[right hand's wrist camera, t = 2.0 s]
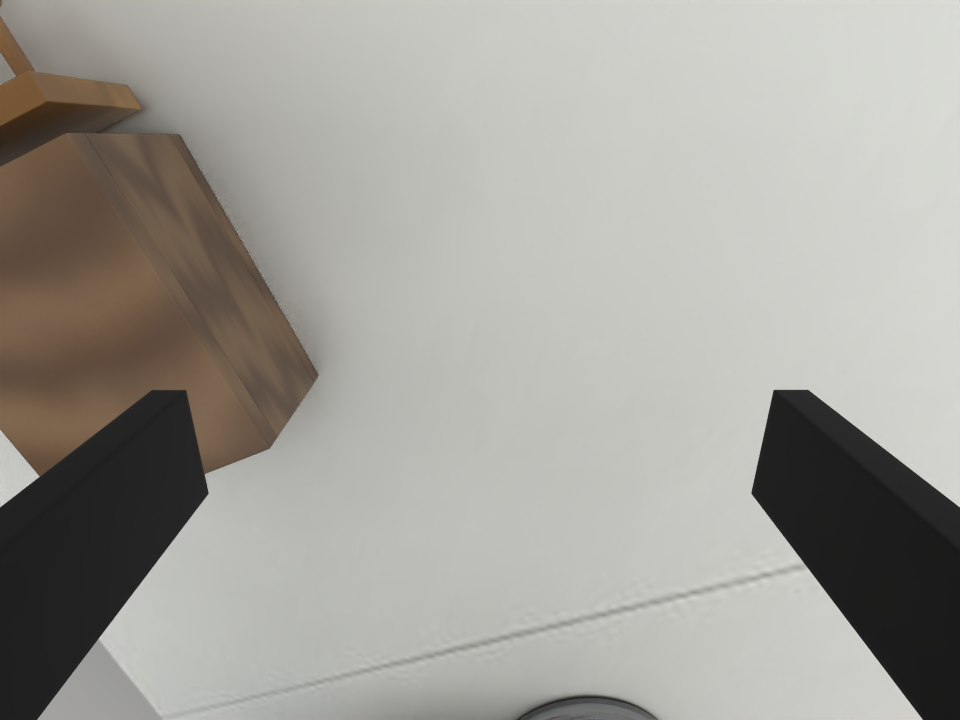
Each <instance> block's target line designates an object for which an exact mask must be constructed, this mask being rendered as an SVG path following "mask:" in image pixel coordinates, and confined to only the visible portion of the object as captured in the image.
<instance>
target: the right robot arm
mask: <svg viewBox="0 0 960 720" xmlns="http://www.w3.org/2000/svg"><path fill="white" fill-rule="evenodd" d="M208 494H209V493H208V488H207V484H206V479H205V474H204V470H203V465H202V461H201V456H200V451H199V447H198V442H197V437H196V433H195V428H194V424H193V419H192V414H191V410H190V405H189V400H188V396H187V391H186V390H151V391H150V392H149V393H147V394H146V395H145V396H143V397H142V398H141V399H140V400H138V401H137V402H136V403H134V404H133V405H132V406H131V407H129V408H128V409H127V410H125V411H124V412H123V413H122V414H120V415H119V416H118V417H116V418H115V419H114V420H113V421H111V422H110V423H109V424H107V425H106V426H105V427H103V428H102V429H101V430H100V431H98V432H97V433H96V434H94V435H93V436H92V437H91V438H89V439H88V440H87V441H85V442H84V443H83V444H82V445H80V446H79V447H78V448H76V449H75V450H74V451H73V452H71V453H70V454H69V455H67V456H66V457H65V458H63V459H62V460H61V461H60V462H58V463H57V464H56V465H54V466H53V467H52V468H51V469H49V470H48V471H47V472H45V473H44V474H43V475H42V476H40V477H39V478H38V479H36V480H35V481H34V482H33V483H31V484H30V485H29V486H27V487H26V488H25V489H23V490H22V491H21V492H20V493H18V494H17V495H16V496H14V497H13V498H12V499H11V500H9V501H8V502H7V503H5V504H4V505H3V506H2V507H0V720H37V719H38V718H39V716H40V715H41V714H42V712H43V711H44V710H45V708H46V707H47V706H48V705H49V703H50V702H51V701H52V699H53V698H54V697H55V695H56V694H57V693H58V691H59V690H60V689H61V687H62V686H63V685H64V683H65V682H66V681H67V679H68V678H69V677H70V676H71V674H72V673H73V672H74V670H75V669H76V668H77V666H78V665H79V664H80V662H81V661H82V660H83V658H84V657H85V656H86V654H87V653H88V652H89V650H90V649H91V648H92V646H93V645H94V644H95V643H96V641H97V640H98V639H99V637H100V636H101V635H102V633H103V632H104V631H105V629H106V628H107V627H108V625H109V624H110V623H111V621H112V620H113V619H114V618H115V616H116V615H117V614H118V612H119V611H120V610H121V608H122V607H123V606H124V604H125V603H126V602H127V600H128V599H129V598H130V596H131V595H132V594H133V592H134V591H135V590H136V589H137V587H138V586H139V585H140V583H141V582H142V581H143V579H144V578H145V577H146V575H147V574H148V573H149V571H150V570H151V569H152V567H153V566H154V565H155V563H156V562H157V561H158V560H159V558H160V557H161V556H162V554H163V553H164V552H165V550H166V549H167V548H168V546H169V545H170V544H171V542H172V541H173V540H174V538H175V537H176V536H177V534H178V533H179V532H180V531H181V529H182V528H183V527H184V525H185V524H186V523H187V521H188V520H189V519H190V517H191V516H192V515H193V513H194V512H195V511H196V509H197V508H198V507H199V505H200V504H201V503H202V502H203V500H204V499H205V498H206V496H207V495H208ZM751 494H752V495H753V496H754V498H755V499H756V500H757V502H758V503H759V504H760V505H761V507H762V508H763V509H764V511H765V512H766V513H767V515H768V516H769V517H770V519H771V520H772V521H773V523H774V524H775V525H776V527H777V528H778V529H779V531H780V532H781V533H782V534H783V536H784V537H785V538H786V540H787V541H788V542H789V544H790V545H791V546H792V548H793V549H794V550H795V552H796V553H797V554H798V556H799V557H800V558H801V560H802V561H803V562H804V563H805V565H806V566H807V567H808V569H809V570H810V571H811V573H812V574H813V575H814V577H815V578H816V579H817V581H818V582H819V583H820V585H821V586H822V587H823V589H824V590H825V591H826V592H827V594H828V595H829V596H830V598H831V599H832V600H833V602H834V603H835V604H836V606H837V607H838V608H839V610H840V611H841V612H842V614H843V615H844V616H845V618H846V619H847V620H848V621H849V623H850V624H851V625H852V627H853V628H854V629H855V631H856V632H857V633H858V635H859V636H860V637H861V639H862V640H863V641H864V643H865V644H866V645H867V647H868V648H869V649H870V650H871V652H872V653H873V654H874V656H875V657H876V658H877V660H878V661H879V662H880V664H881V665H882V666H883V668H884V669H885V670H886V672H887V673H888V674H889V676H890V677H891V678H892V679H893V681H894V682H895V683H896V685H897V686H898V687H899V689H900V690H901V691H902V693H903V694H904V695H905V697H906V698H907V699H908V701H909V702H910V703H911V705H912V706H913V707H914V708H915V710H916V711H917V712H918V714H919V715H920V716H921V718H922V719H923V720H960V507H958V506H957V505H956V504H955V503H953V502H952V501H951V500H949V499H948V498H947V497H946V496H944V495H943V494H942V493H940V492H939V491H938V490H937V489H935V488H934V487H933V486H931V485H930V484H929V483H927V482H926V481H925V480H924V479H922V478H921V477H920V476H918V475H917V474H916V473H915V472H913V471H912V470H911V469H909V468H908V467H907V466H906V465H904V464H903V463H902V462H900V461H899V460H898V459H897V458H895V457H894V456H893V455H891V454H890V453H889V452H887V451H886V450H885V449H884V448H882V447H881V446H880V445H878V444H877V443H876V442H875V441H873V440H872V439H871V438H869V437H868V436H867V435H866V434H864V433H863V432H862V431H860V430H859V429H858V428H857V427H855V426H854V425H853V424H851V423H850V422H849V421H847V420H846V419H845V418H844V417H842V416H841V415H840V414H838V413H837V412H836V411H835V410H833V409H832V408H831V407H829V406H828V405H827V404H826V403H824V402H823V401H822V400H820V399H819V398H818V397H817V396H815V395H814V394H813V393H811V392H810V391H809V390H774V391H773V396H772V400H771V405H770V410H769V414H768V419H767V424H766V428H765V433H764V437H763V442H762V447H761V451H760V456H759V461H758V465H757V470H756V474H755V479H754V484H753V488H752V493H751ZM519 720H656V719H655V718H654V717H652V716H651V715H650V714H648V713H647V712H645V711H643V710H641V709H639V708H637V707H635V706H632V705H629V704H626V703H623V702H619V701H615V700H609V699H599V698H580V699H571V700H565V701H560V702H556V703H552V704H549V705H546V706H544V707H541V708H539V709H536V710H534V711H532V712H531V713H529V714H527V715H525V716H524V717H522V718H521V719H519Z"/></svg>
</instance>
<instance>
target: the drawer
mask: <svg viewBox="0 0 960 720" xmlns="http://www.w3.org/2000/svg"><path fill="white" fill-rule="evenodd" d="M1 6H2V0H0V7H1ZM0 52H1V54H2V55H3V57H4V58H5V60H6V61H7V63H8V64H9V66H10V67H11V69H12V70H13V72H14V73H15V75H16V76H17V77H15V78H13V79H11V80H10V81H8V82H6V83H4V84H2V85H0V167H1V166H3V165H5V164H7V163H9V162H11V161H13V160H15V159H16V158H18V157H20V156H22V155H24V154H26V153H28V152H30V151H32V150H34V149H36V148H38V147H40V146H42V145H44V144H46V143H48V142H49V141H51V140H53V139H55V138H57V137H59V136H61V135H63V134H65V133H96V132H98V131H100V130H102V129H104V128H106V127H108V126H110V125H112V124H114V123H116V122H118V121H120V120H122V119H124V118H126V117H128V116H130V115H131V114H133V113H135V112H137V111H139V110H141V107H140V105H139V103H138V102H137V100H136V98H135V97H134V95H133V93H132V92H131V90H130V88H129V87H128V86H127V85H120V84H114V83H107V82H100V81H93V80H86V79H80V78H73V77H66V76H59V75H52V74H45V73H39V72H36V71H35V70H34V68H33V67H32V65H31V64H30V62H29V60H28V59H27V57H26V56H25V54H24V53H23V51H22V49H21V48H20V46H19V45H18V43H17V42H16V40H15V39H14V37H13V35H12V34H11V32H10V31H9V29H8V28H7V26H6V24H5V23H4V21H3V20H2V18H1V17H0Z"/></svg>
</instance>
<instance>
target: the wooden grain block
mask: <svg viewBox="0 0 960 720" xmlns="http://www.w3.org/2000/svg"><path fill="white" fill-rule="evenodd" d="M317 377H318V374H317V372H316V370H315V369H314V367H313V365H312V363H311V362H310V360H309V358H308V356H307V355H306V353H305V351H304V350H303V348H302V346H301V344H300V343H299V341H298V339H297V337H296V336H295V334H294V332H293V330H292V329H291V327H290V325H289V324H288V322H287V320H286V318H285V317H284V315H283V313H282V311H281V310H280V308H279V306H278V304H277V303H276V301H275V299H274V298H273V296H272V294H271V292H270V291H269V289H268V287H267V285H266V284H265V282H264V280H263V278H262V277H261V275H260V273H259V271H258V270H257V268H256V266H255V265H254V263H253V261H252V259H251V258H250V256H249V254H248V252H247V251H246V249H245V247H244V245H243V244H242V242H241V240H240V239H239V237H238V235H237V233H236V232H235V230H234V228H233V226H232V225H231V223H230V221H229V219H228V218H227V216H226V214H225V213H224V211H223V209H222V207H221V206H220V204H219V202H218V200H217V199H216V197H215V195H214V193H213V192H212V190H211V188H210V187H209V185H208V183H207V181H206V180H205V178H204V176H203V174H202V173H201V171H200V169H199V167H198V166H197V164H196V162H195V160H194V159H193V157H192V155H191V154H190V152H189V150H188V148H187V147H186V145H185V143H184V141H183V140H182V138H181V136H180V135H169V134H105V133H65V134H63V135H61V136H59V137H57V138H55V139H53V140H51V141H49V142H48V143H46V144H44V145H42V146H40V147H38V148H36V149H34V150H32V151H30V152H28V153H26V154H24V155H22V156H20V157H18V158H16V159H15V160H13V161H11V162H9V163H7V164H5V165H3V166H1V167H0V430H1V431H2V432H3V433H4V434H5V436H6V437H7V438H8V439H9V440H10V442H11V443H12V444H13V445H14V446H15V448H16V449H17V450H18V451H19V452H20V454H21V455H22V456H23V457H24V458H25V459H26V461H27V462H28V463H29V464H30V465H31V467H32V468H33V469H34V470H35V471H36V473H37V474H38V475H39V476H42V475H43V474H44V473H45V472H47V471H48V470H49V469H51V468H52V467H53V466H54V465H56V464H57V463H58V462H60V461H61V460H62V459H63V458H65V457H66V456H67V455H69V454H70V453H71V452H73V451H74V450H75V449H76V448H78V447H79V446H80V445H82V444H83V443H84V442H85V441H87V440H88V439H89V438H91V437H92V436H93V435H94V434H96V433H97V432H98V431H100V430H101V429H102V428H103V427H105V426H106V425H107V424H109V423H110V422H111V421H113V420H114V419H115V418H116V417H118V416H119V415H120V414H122V413H123V412H124V411H125V410H127V409H128V408H129V407H131V406H132V405H133V404H134V403H136V402H137V401H138V400H140V399H141V398H142V397H143V396H145V395H146V394H147V393H149V392H150V391H151V390H186V391H187V396H188V400H189V405H190V410H191V414H192V419H193V424H194V428H195V433H196V437H197V442H198V447H199V451H200V456H201V461H202V465H203V470H204V474H206V473H208V472H211V471H214V470H216V469H219V468H221V467H224V466H226V465H229V464H232V463H234V462H237V461H239V460H242V459H244V458H247V457H249V456H252V455H255V454H257V453H260V452H262V451H265V450H267V449H270V447H271V446H272V444H273V443H274V442H275V440H276V439H277V437H278V436H279V434H280V433H281V431H282V430H283V428H284V427H285V425H286V424H287V422H288V421H289V419H290V418H291V416H292V415H293V413H294V412H295V411H296V409H297V408H298V406H299V405H300V403H301V402H302V400H303V399H304V397H305V396H306V394H307V393H308V391H309V390H310V388H311V387H312V385H313V384H314V382H315V380H316V379H317Z"/></svg>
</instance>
